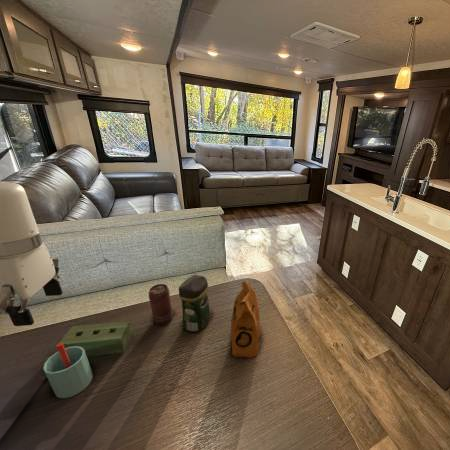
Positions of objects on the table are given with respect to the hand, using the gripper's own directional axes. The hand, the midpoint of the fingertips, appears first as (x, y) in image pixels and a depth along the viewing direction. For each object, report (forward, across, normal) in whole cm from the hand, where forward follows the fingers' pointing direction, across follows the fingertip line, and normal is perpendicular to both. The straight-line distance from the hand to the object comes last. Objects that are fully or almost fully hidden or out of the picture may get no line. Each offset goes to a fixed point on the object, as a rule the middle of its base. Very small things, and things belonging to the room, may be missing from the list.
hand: (40, 308), depth 57 cm
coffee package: (+26, -6, +47) cm, 54 cm away
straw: (+26, 0, +1) cm, 26 cm away
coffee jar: (+26, -18, +30) cm, 44 cm away
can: (+26, -21, +18) cm, 38 cm away
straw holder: (+26, -12, +2) cm, 29 cm away
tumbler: (+26, 0, +1) cm, 26 cm away
